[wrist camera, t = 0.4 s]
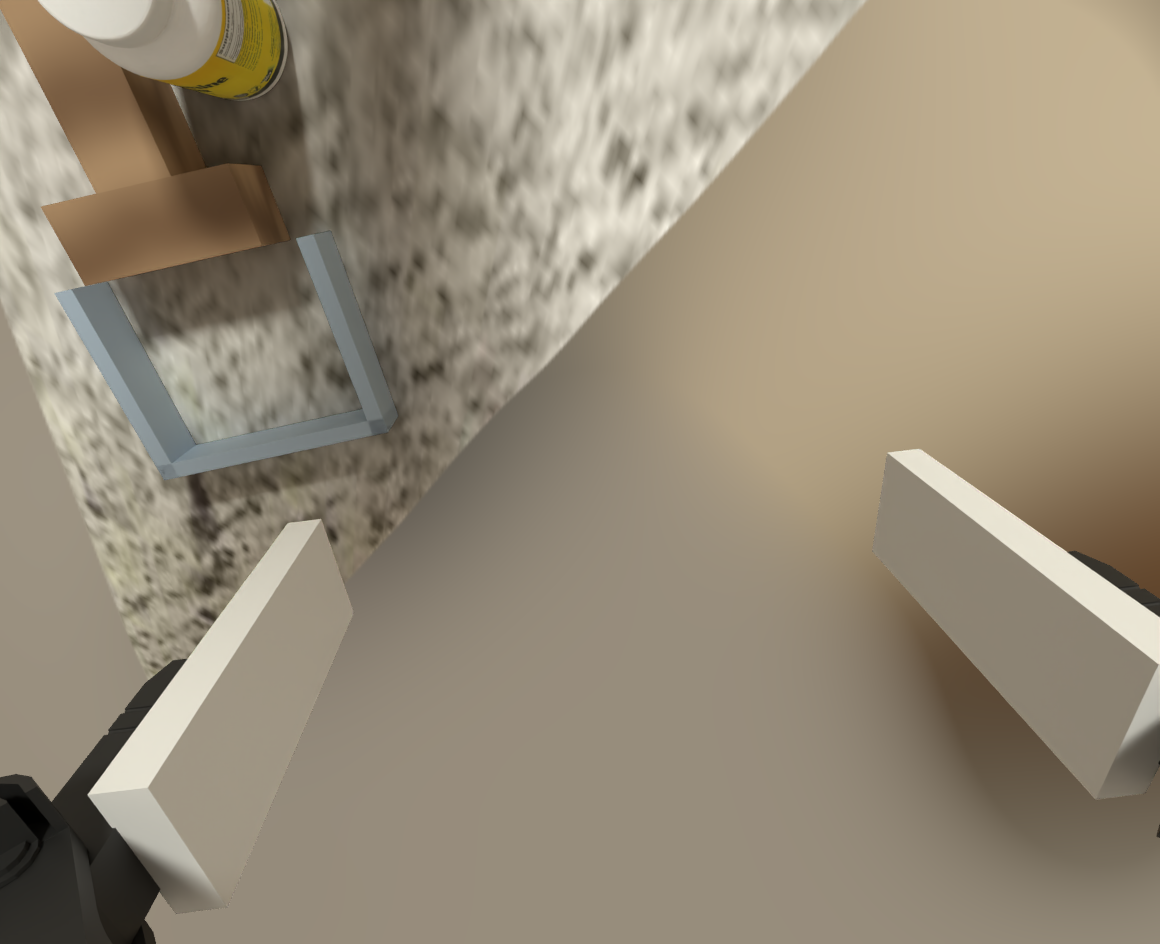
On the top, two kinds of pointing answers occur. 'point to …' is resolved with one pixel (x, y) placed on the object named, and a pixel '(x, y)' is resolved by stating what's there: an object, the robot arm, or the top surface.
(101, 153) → the t block
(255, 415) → the top surface
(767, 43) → the top surface
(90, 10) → the pill bottle
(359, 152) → the top surface
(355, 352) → the dock
